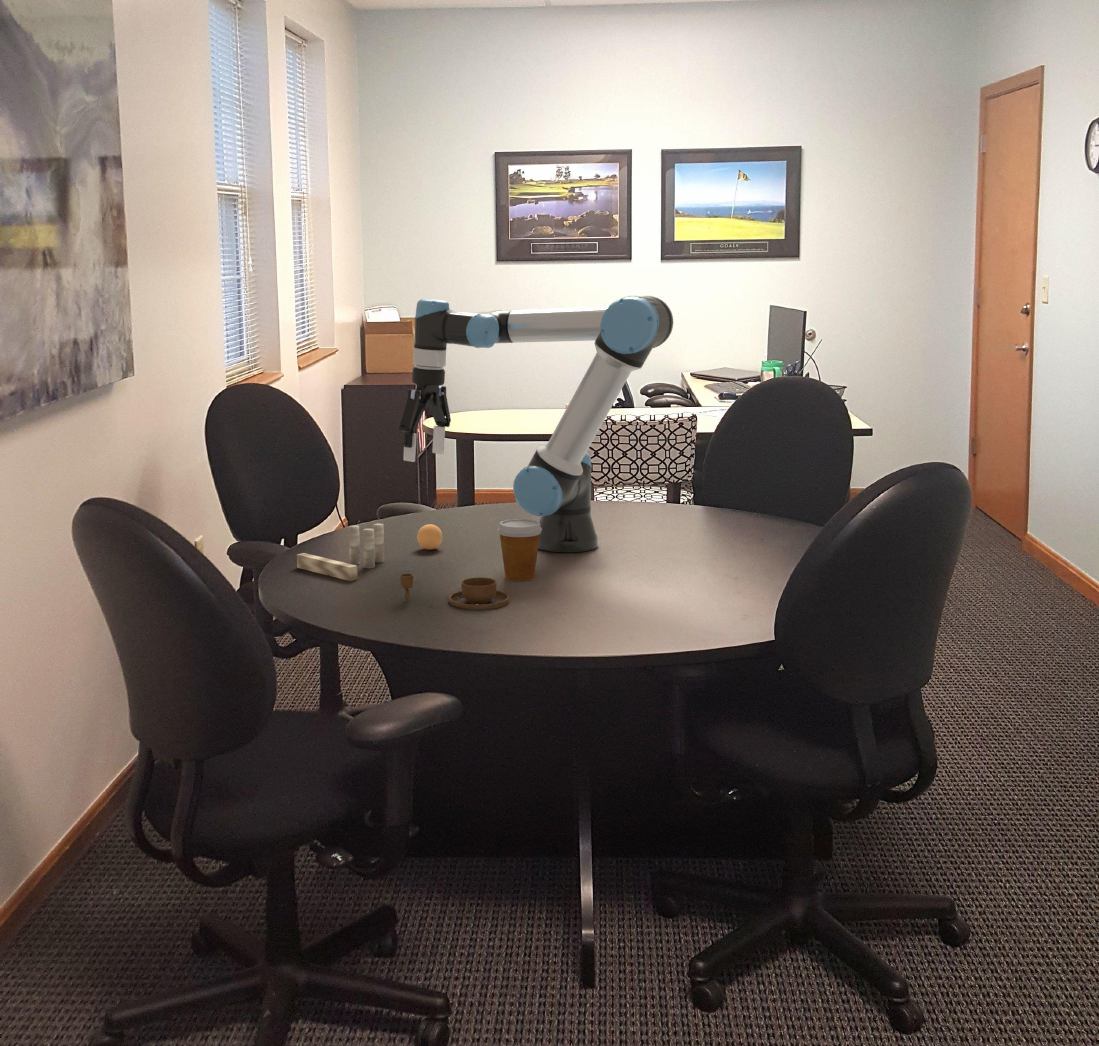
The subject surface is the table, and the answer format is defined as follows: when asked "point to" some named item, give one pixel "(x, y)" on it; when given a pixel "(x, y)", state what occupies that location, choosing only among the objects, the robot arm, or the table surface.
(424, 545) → the ball
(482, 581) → the place setting
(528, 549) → the disposable coffee cup
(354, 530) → the back pin right
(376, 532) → the front pin
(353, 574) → the white marbled bar
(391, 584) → the table surface
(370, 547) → the back pin left
